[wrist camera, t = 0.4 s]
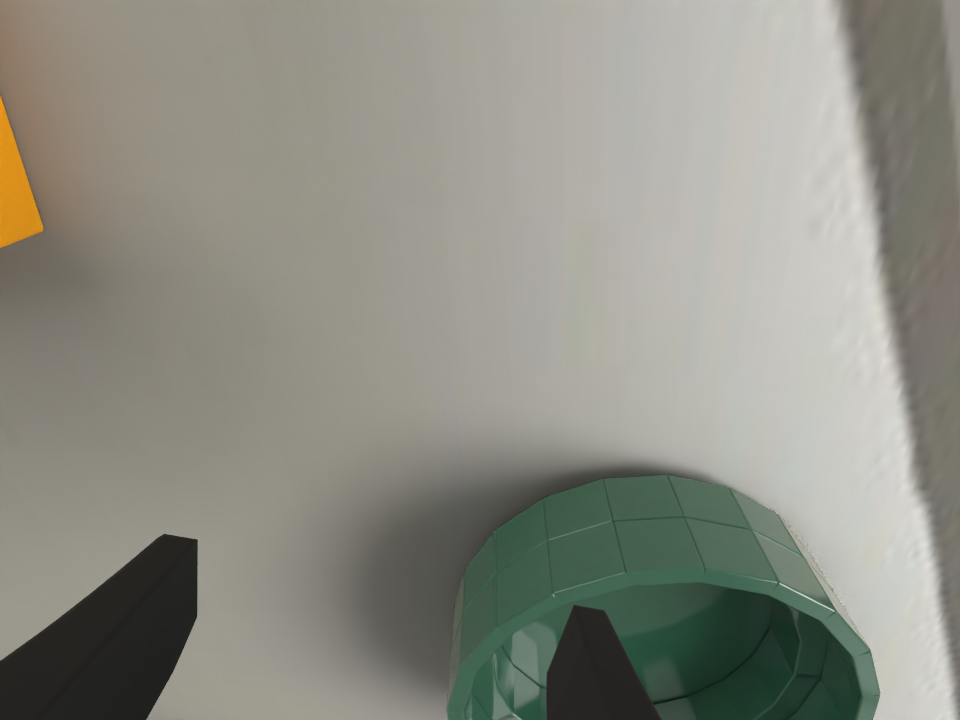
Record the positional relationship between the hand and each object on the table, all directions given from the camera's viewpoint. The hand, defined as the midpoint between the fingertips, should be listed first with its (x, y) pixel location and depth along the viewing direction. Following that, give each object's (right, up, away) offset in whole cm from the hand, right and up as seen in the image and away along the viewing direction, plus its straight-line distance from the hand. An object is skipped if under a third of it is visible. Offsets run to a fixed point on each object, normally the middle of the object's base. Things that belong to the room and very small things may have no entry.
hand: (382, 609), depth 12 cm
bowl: (+8, -5, +13) cm, 17 cm away
